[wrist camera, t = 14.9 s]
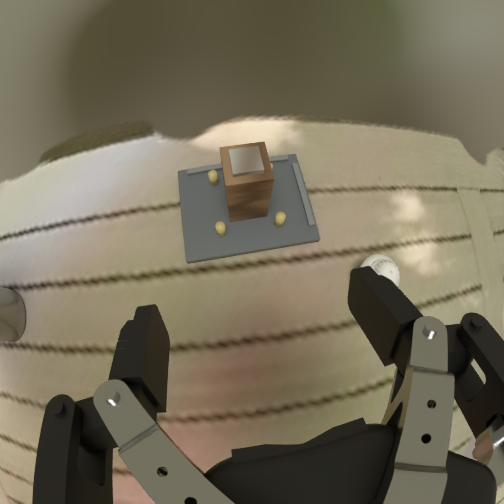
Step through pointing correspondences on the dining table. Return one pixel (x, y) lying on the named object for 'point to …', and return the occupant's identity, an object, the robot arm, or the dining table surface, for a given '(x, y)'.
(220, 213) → the plate
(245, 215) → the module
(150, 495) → the robot arm
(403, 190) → the dining table surface
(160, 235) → the dining table surface
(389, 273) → the white rounded jar
